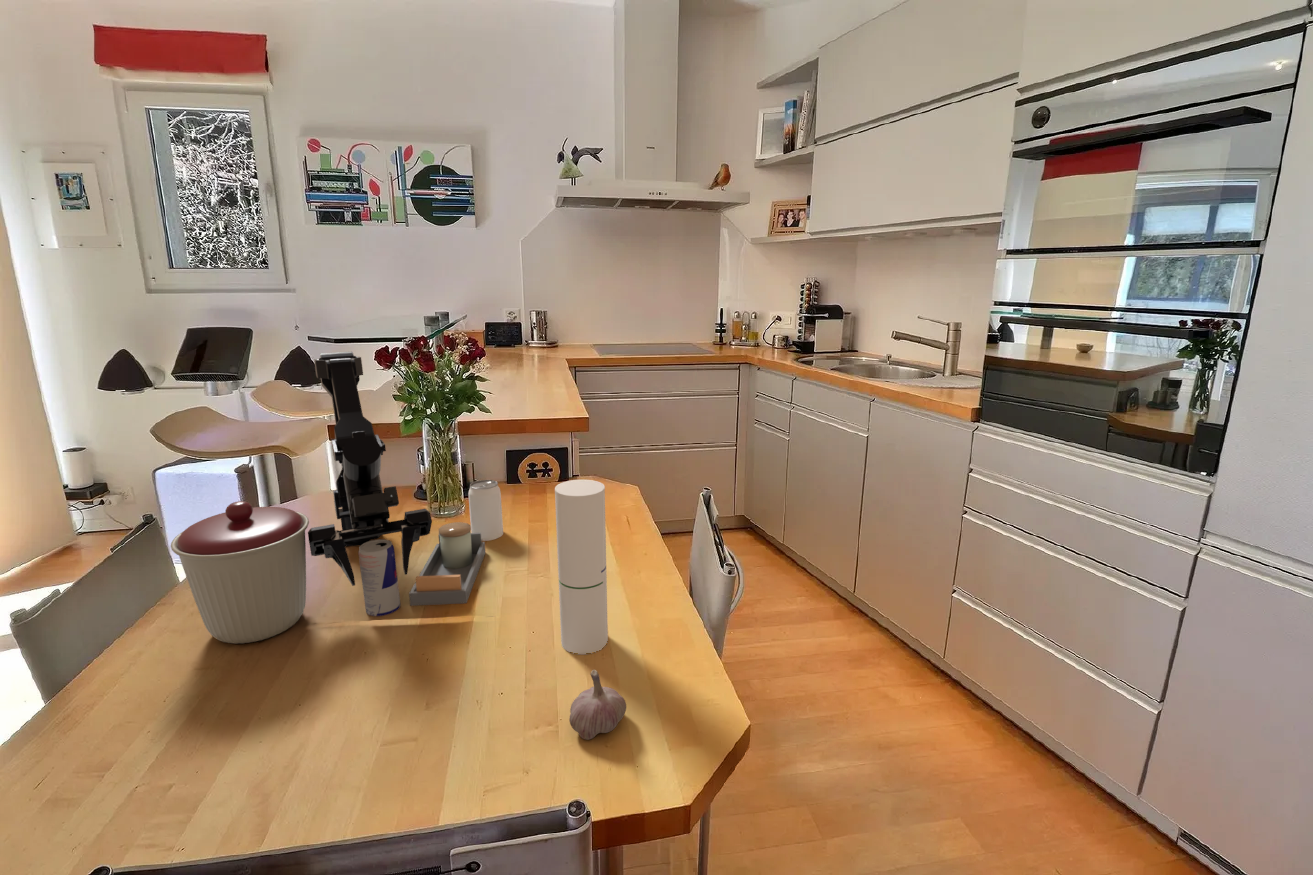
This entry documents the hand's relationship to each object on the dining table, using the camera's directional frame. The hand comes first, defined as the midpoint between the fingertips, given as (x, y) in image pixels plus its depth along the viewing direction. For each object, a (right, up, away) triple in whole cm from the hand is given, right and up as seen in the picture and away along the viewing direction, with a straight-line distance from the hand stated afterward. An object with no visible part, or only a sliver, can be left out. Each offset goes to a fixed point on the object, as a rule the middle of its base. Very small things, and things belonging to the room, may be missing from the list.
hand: (380, 579), depth 107 cm
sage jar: (+7, -1, +19) cm, 20 cm away
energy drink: (-1, -6, +3) cm, 7 cm away
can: (+9, +2, +32) cm, 33 cm away
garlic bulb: (+37, -14, -23) cm, 46 cm away
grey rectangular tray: (+7, -3, +14) cm, 16 cm away
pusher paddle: (+8, -4, +5) cm, 10 cm away
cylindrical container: (+34, -9, -5) cm, 35 cm away
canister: (-19, -7, -1) cm, 20 cm away
